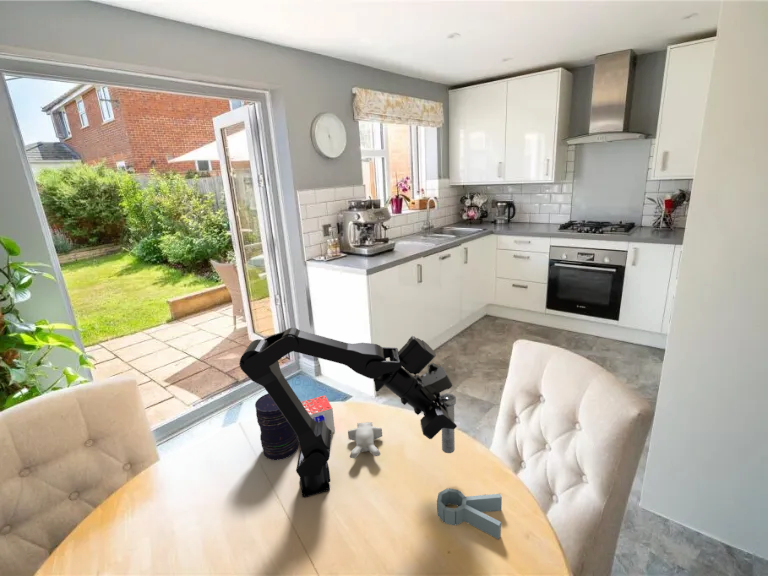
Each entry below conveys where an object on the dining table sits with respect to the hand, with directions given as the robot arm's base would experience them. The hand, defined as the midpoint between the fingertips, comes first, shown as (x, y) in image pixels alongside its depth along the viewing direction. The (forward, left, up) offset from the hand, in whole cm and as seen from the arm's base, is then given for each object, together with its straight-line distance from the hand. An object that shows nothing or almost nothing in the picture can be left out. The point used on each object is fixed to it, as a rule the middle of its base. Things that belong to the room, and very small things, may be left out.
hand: (453, 423), depth 91 cm
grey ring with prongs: (-3, -13, -13) cm, 19 cm away
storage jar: (-40, +25, -14) cm, 49 cm away
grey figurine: (-18, +17, -14) cm, 28 cm away
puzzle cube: (-29, +30, -14) cm, 44 cm away
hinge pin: (-1, 0, -7) cm, 7 cm away
